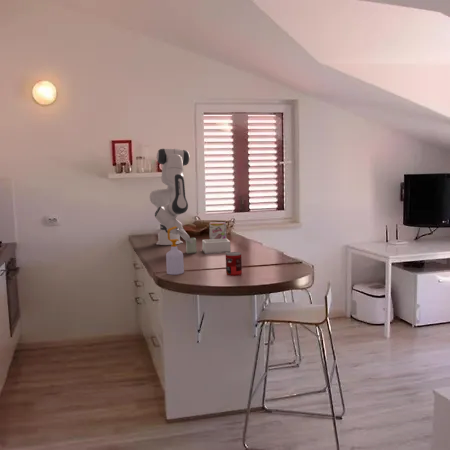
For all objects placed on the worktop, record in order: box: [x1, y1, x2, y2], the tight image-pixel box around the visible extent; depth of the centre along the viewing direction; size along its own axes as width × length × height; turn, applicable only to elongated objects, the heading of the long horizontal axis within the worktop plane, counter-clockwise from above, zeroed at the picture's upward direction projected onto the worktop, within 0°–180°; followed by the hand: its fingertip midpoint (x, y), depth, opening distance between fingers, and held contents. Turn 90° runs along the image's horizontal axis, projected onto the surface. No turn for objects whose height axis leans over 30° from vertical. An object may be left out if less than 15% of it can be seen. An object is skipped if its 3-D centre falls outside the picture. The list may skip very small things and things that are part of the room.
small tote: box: [185, 237, 198, 255], centre depth 354 cm, size 6×6×9 cm
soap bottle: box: [165, 226, 185, 276], centre depth 291 cm, size 9×9×25 cm
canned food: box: [225, 251, 243, 277], centre depth 283 cm, size 8×8×11 cm
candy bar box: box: [208, 221, 227, 239], centre depth 373 cm, size 11×5×16 cm, turn 84°
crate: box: [201, 237, 232, 255], centre depth 356 cm, size 14×16×7 cm
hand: (191, 241), depth 354 cm, fingers closed on small tote, 6 cm apart
